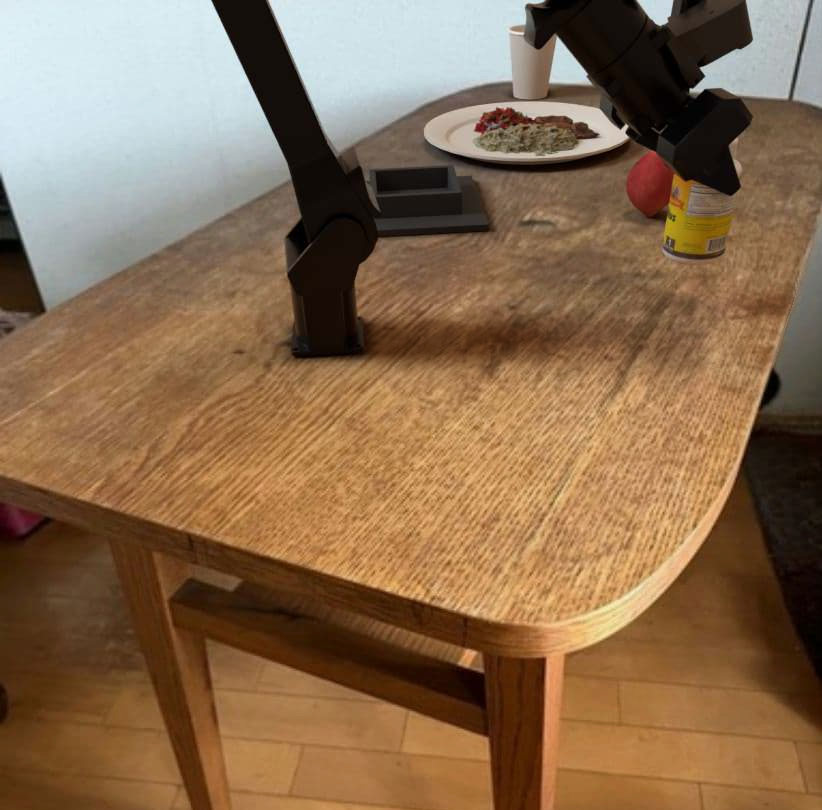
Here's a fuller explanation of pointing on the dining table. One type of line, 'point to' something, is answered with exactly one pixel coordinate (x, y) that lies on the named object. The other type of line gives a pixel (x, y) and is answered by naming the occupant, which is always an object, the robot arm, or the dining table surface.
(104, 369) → the dining table surface
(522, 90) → the dixie cup
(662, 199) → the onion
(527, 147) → the plated food
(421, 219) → the dock pad
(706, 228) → the supplement bottle
